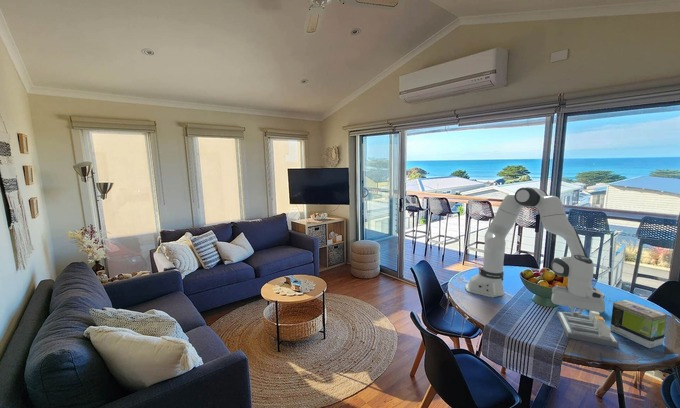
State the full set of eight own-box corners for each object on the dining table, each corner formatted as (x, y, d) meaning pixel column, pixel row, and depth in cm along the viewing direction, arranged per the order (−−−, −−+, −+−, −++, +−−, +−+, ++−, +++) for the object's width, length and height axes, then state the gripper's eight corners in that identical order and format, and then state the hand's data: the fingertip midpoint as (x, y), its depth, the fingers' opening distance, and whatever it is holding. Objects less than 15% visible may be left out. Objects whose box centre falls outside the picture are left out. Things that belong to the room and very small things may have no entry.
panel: (567, 337, 136) (568, 323, 135) (557, 314, 156) (558, 302, 155) (618, 347, 128) (620, 333, 127) (600, 322, 148) (602, 309, 147)
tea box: (663, 344, 130) (668, 313, 127) (648, 349, 127) (653, 317, 125) (623, 326, 144) (626, 298, 142) (608, 330, 141) (612, 301, 139)
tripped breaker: (595, 329, 139) (597, 318, 138) (593, 325, 142) (594, 315, 141) (603, 330, 137) (605, 320, 136) (601, 327, 140) (602, 316, 140)
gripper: (553, 287, 143) (550, 313, 145) (608, 296, 133) (603, 324, 136) (551, 282, 148) (548, 307, 151) (603, 290, 139) (599, 317, 141)
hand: (575, 315), depth 143 cm, fingers closed
